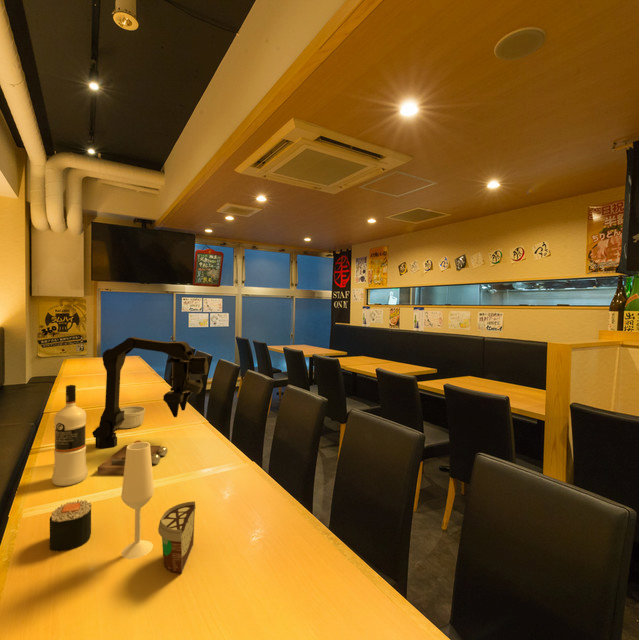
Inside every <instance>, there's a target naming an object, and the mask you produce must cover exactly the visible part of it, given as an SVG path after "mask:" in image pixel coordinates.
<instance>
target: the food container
mask: <svg viewBox="0 0 639 640" xmlns="http://www.w3.org/2000/svg"><path fill="white" fill-rule="evenodd" d="M195 516H196V501H186V502H182V503H178V504H176V505H174V506H172V507H170V508H168V509H167V510H166V511H165V512H163V514H162V515H161V518H160V520H159V525H158V526H157V527H158V528H157V532H158V535H160V537H161V544H162V557H163V558H162V559H163V567H164V569H165V570H166V571H168V572H170V573H173V574H175V575H176V574H178V575H180V574H181V575H182V574H183V572H184V570H185V567H186V565H187V563H188V560H189V557H190V554H191V552H192V550H193V547H194V540H195V539H194V538H195V537H194V536H195Z"/></svg>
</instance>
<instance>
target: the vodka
mask: <svg viewBox="0 0 639 640" xmlns="http://www.w3.org/2000/svg"><path fill="white" fill-rule="evenodd" d="M76 389H77V387H76V385H75V384H69V385H66V386H65V406H64V407H63V408H61V409H60V410H59V411H57V412H56V413H55V415H54V418H53V422H54V423H53V424H54V425H53V428H54V451H53V454H54V455H53V456H54V463H53V464H54V465H53V473H52V476H51V482H52V483H53V485H56V486H58V487H68V486H74V485H77V484H78V483H81V482H83V481H84V480H86V478H87V477H88V475H89V470H88V467H87V460H86V459H87V457H86V453H87V452H86V451H87V445H86V424H87V413H86V411H85V409H83V408H81V407H80V406H77V405H76V404H77V403H76V399H77V398H76V395H77V393H76V391H77V390H76Z"/></svg>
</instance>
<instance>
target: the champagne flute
mask: <svg viewBox="0 0 639 640" xmlns="http://www.w3.org/2000/svg"><path fill="white" fill-rule="evenodd" d="M150 445H151V444H150V442H148V441H142V442H137V443H134V442H133V443H130V444H128V446H127V450H126V459H125V468H124V475H123V478H122V488H121V496H120V497H121V500H122V502H123V503H124V504H125V505H126V506H128V507H130V509H133V510H134V541H133V542H131V543H129V544H127V545H126V546H125V547H124V548H123V549H122V550H121V552H120V555H121V557H122V558H124V559H127V560H134V559H140V558H142V557H145V556H146V555H148V554H149V553H150V552H151V551H152V550H153V547H154V544H153V542H151V541H150V540H144V539H141V527H142V526H141V525H142V524H141V519H142V518H141V513H142V512H141V511H142V508H143V507H145V505H146V504H147V503H149V502H150V500H151V499H152V498H153V495H154V494H155V486H154V485H155V484H154V475H153V464H152V461H151V450H150Z"/></svg>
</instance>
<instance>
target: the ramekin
mask: <svg viewBox="0 0 639 640" xmlns="http://www.w3.org/2000/svg"><path fill="white" fill-rule="evenodd" d="M119 408H120V410H121V411H123V410H124V421H123V422H122V424H121V425H120V426H119V427H118V429H132V428H137V427H139V426H141V425H142V424H143V423H144V419H145V412H146V408H145V407H144V406H140V405H129V406H122V407H119Z"/></svg>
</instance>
